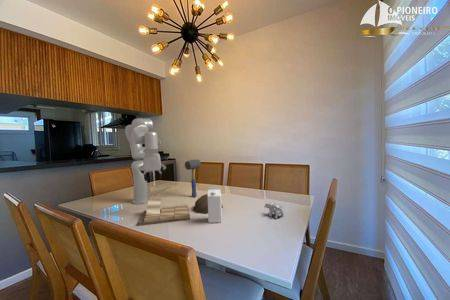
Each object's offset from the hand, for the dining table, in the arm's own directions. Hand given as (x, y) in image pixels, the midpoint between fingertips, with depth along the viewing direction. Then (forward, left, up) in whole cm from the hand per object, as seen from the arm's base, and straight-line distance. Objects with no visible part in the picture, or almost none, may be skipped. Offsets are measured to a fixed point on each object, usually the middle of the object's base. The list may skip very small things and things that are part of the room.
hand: (153, 180), depth 129 cm
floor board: (+5, +7, -22) cm, 23 cm away
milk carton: (+20, +35, -22) cm, 46 cm away
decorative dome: (-1, +34, -22) cm, 40 cm away
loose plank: (+2, 0, -17) cm, 17 cm away
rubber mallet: (-32, +27, -22) cm, 47 cm away
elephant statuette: (+23, +69, -22) cm, 76 cm away
